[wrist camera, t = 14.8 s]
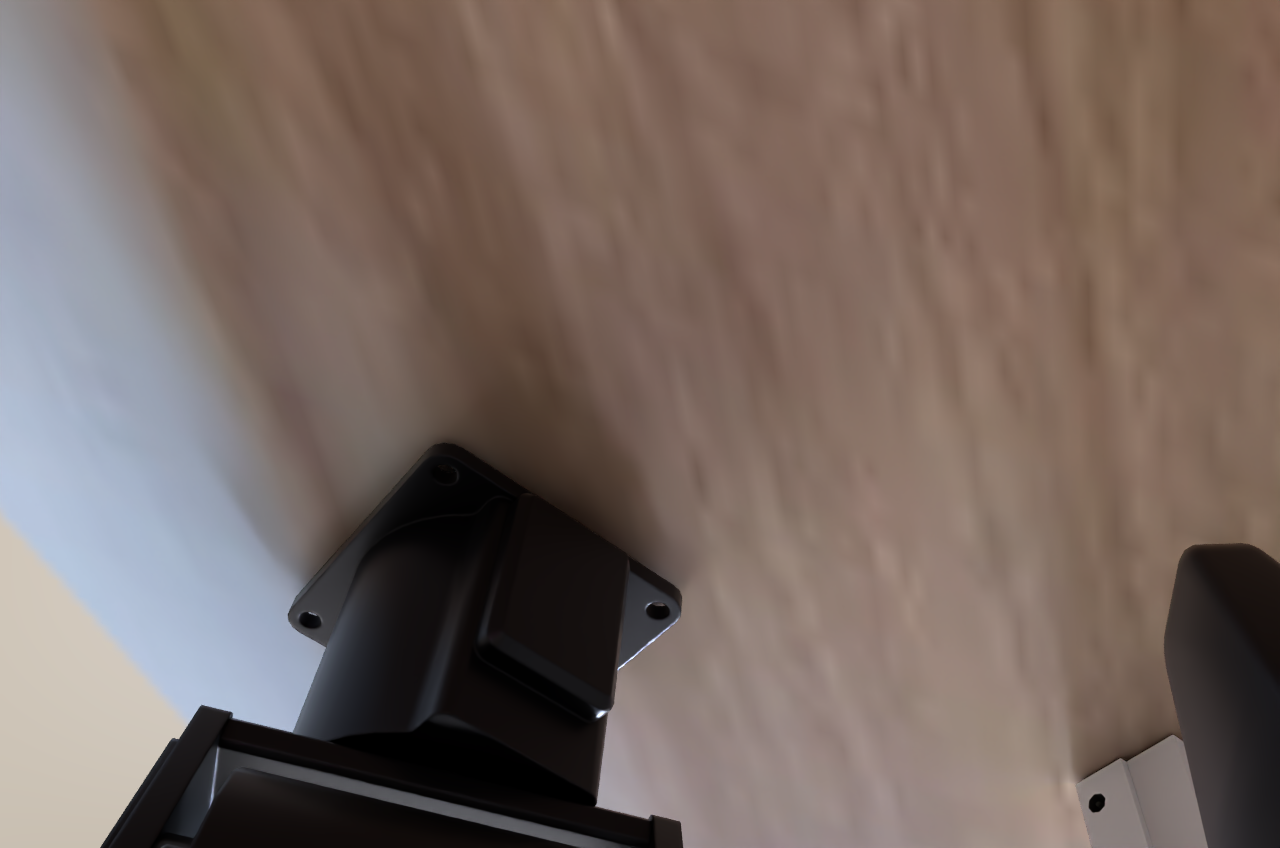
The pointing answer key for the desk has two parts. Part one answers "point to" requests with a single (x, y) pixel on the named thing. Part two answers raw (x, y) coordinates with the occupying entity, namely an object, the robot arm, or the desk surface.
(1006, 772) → the desk surface
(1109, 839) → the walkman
